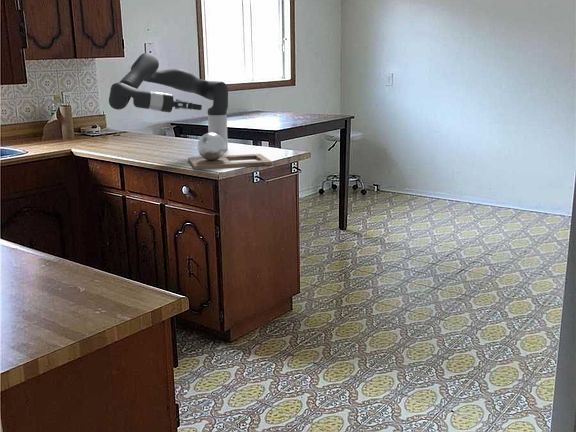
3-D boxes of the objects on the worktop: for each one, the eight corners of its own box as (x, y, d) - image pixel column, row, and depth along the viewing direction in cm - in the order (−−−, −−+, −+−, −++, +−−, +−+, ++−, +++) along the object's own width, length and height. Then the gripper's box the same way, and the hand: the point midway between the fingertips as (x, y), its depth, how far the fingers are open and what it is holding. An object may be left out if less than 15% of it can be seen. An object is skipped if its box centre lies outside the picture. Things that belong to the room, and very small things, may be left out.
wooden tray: (188, 160, 280) (187, 157, 279) (260, 156, 289) (259, 153, 288) (195, 169, 259) (194, 166, 259) (272, 165, 268) (272, 161, 268)
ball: (196, 159, 276) (194, 131, 272) (223, 157, 279) (222, 130, 276) (200, 163, 264) (199, 135, 261) (228, 161, 268) (227, 133, 264)
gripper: (164, 92, 248) (204, 98, 255) (157, 92, 261) (195, 98, 267) (162, 111, 249) (202, 117, 256) (155, 110, 262) (193, 115, 269)
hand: (198, 107), depth 262 cm, fingers open, 8 cm apart
